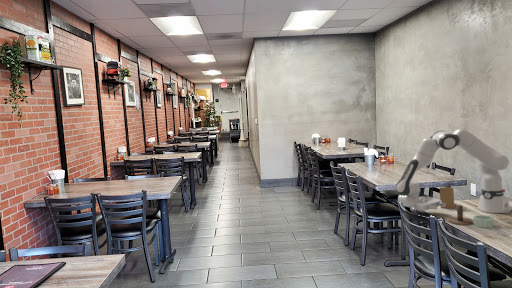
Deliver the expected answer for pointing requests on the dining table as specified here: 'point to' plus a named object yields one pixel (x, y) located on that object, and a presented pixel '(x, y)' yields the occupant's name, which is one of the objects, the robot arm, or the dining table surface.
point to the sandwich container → (447, 197)
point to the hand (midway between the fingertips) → (440, 206)
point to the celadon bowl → (483, 221)
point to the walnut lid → (460, 217)
